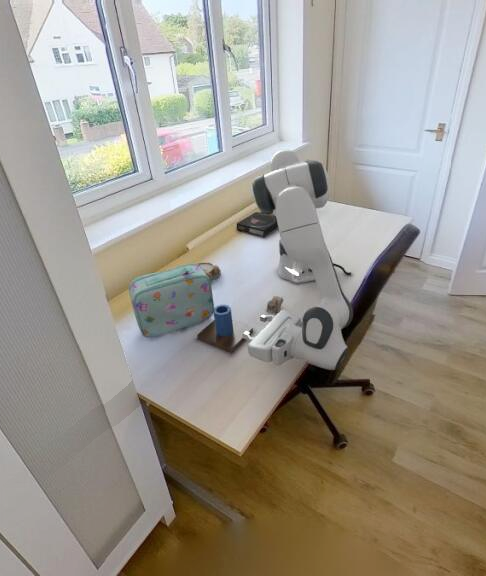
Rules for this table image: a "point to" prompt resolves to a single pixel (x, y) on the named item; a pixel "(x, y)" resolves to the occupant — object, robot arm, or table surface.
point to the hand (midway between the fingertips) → (252, 325)
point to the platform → (227, 342)
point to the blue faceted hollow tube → (223, 320)
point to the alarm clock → (210, 270)
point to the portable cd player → (258, 224)
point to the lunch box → (171, 300)
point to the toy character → (274, 304)
